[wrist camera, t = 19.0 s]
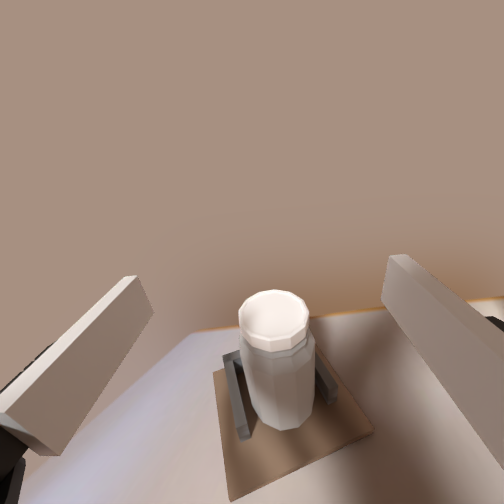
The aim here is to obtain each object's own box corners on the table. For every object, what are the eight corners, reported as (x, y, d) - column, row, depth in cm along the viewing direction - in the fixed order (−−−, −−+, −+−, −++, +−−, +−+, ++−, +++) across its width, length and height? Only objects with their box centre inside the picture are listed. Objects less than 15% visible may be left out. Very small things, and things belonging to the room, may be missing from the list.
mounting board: (311, 341, 42) (311, 322, 40) (373, 432, 28) (378, 412, 26) (214, 376, 38) (207, 358, 36) (230, 502, 25) (222, 485, 22)
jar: (311, 369, 36) (311, 285, 28) (318, 439, 28) (320, 348, 19) (256, 365, 38) (240, 285, 30) (246, 429, 30) (221, 343, 21)
